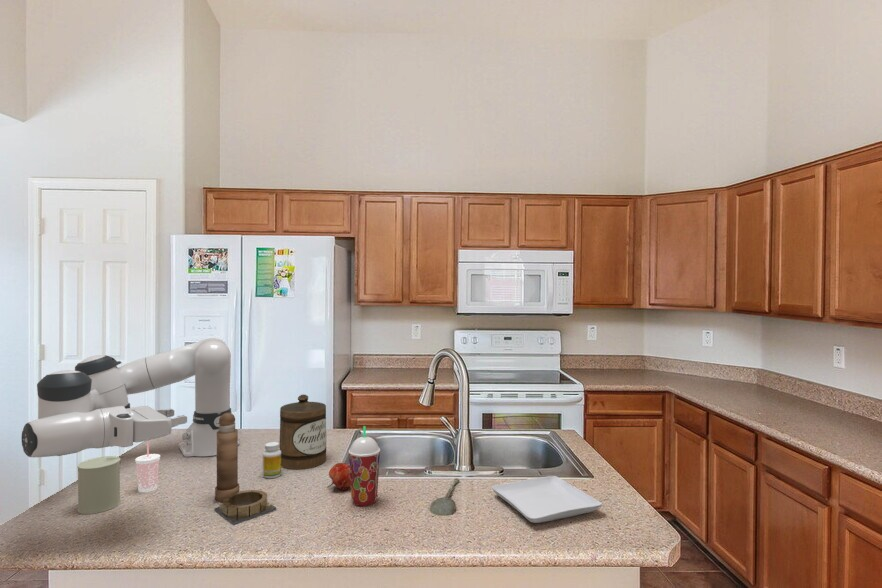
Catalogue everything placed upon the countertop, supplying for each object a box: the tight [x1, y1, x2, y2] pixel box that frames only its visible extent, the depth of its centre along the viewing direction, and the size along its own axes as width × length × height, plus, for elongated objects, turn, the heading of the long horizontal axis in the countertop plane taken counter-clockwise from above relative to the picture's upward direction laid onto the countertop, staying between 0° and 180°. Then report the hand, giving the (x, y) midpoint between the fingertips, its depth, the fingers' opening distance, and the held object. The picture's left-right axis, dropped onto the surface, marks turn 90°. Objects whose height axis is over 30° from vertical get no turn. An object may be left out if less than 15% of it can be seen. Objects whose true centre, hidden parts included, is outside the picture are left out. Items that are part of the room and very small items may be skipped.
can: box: [76, 455, 122, 515], centre depth 125 cm, size 9×9×12 cm
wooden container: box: [278, 394, 327, 470], centre depth 158 cm, size 15×15×22 cm
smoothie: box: [348, 425, 381, 507], centre depth 128 cm, size 8×8×20 cm
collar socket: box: [214, 489, 277, 526], centre depth 123 cm, size 11×11×3 cm
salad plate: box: [491, 475, 603, 524], centre depth 126 cm, size 21×21×3 cm
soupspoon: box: [429, 477, 460, 517], centre depth 130 cm, size 22×3×7 cm
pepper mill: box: [214, 413, 240, 503], centre depth 130 cm, size 6×6×23 cm
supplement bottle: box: [262, 441, 282, 479], centre depth 146 cm, size 5×5×10 cm
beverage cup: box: [134, 440, 161, 493], centre depth 136 cm, size 6×6×14 cm
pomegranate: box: [327, 462, 351, 491], centre depth 137 cm, size 7×7×10 cm
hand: (179, 415), depth 122 cm, fingers open, 8 cm apart
